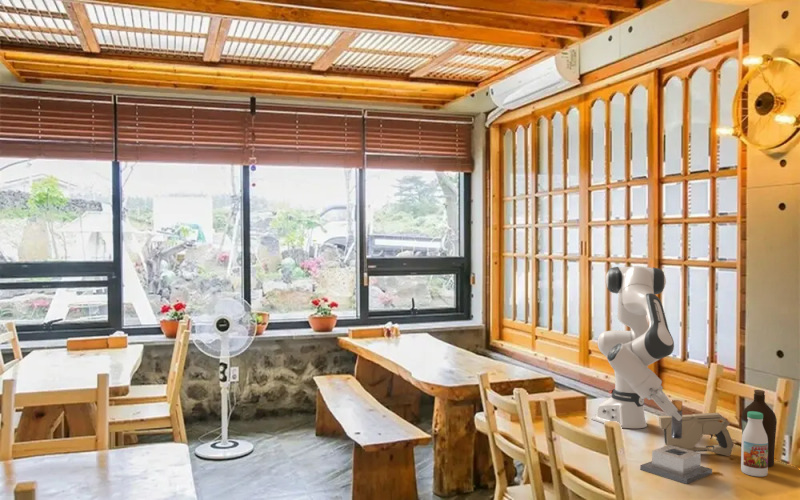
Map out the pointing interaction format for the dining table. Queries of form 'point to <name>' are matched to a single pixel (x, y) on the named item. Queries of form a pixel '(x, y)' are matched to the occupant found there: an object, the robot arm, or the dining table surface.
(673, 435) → the battery
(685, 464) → the block
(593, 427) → the dining table surface
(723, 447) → the gun
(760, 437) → the milk bottle
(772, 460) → the olive oil
